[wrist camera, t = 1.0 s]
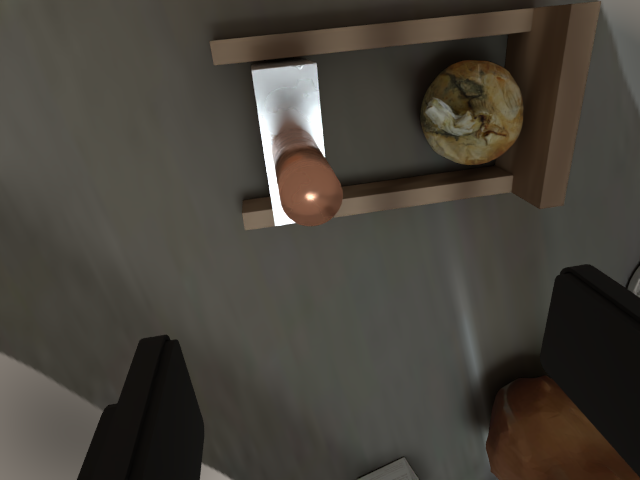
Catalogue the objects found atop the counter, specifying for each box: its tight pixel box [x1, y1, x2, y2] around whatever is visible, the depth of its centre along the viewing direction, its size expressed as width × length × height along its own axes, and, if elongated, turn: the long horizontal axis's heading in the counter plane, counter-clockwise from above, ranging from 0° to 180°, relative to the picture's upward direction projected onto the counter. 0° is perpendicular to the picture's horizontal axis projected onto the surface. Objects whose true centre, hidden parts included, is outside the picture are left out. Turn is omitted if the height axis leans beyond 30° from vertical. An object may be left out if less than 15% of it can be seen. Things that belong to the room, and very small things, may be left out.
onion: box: [420, 60, 523, 165], centre depth 32 cm, size 8×8×8 cm
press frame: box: [209, 1, 601, 230], centre depth 32 cm, size 25×14×7 cm, turn 95°
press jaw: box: [251, 59, 343, 226], centre depth 27 cm, size 4×10×15 cm, turn 5°
